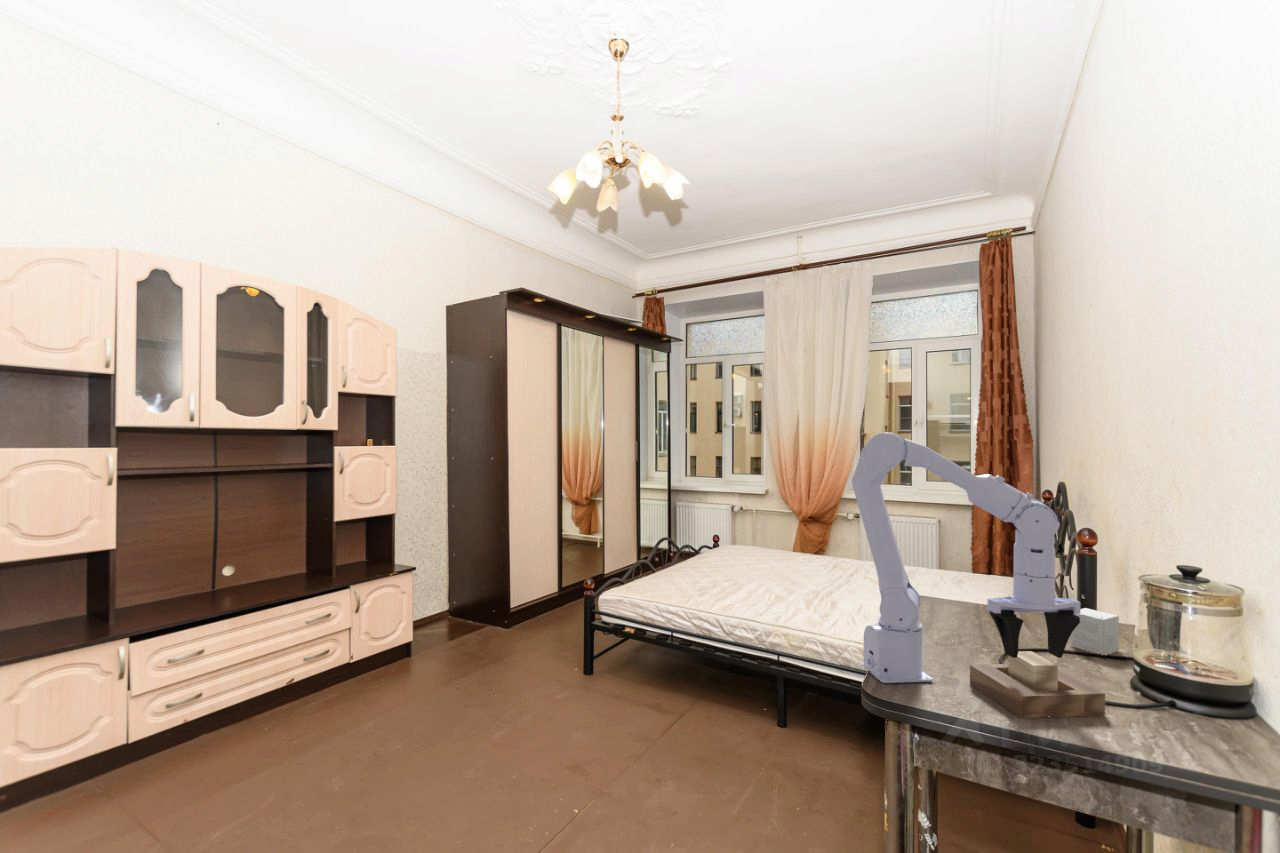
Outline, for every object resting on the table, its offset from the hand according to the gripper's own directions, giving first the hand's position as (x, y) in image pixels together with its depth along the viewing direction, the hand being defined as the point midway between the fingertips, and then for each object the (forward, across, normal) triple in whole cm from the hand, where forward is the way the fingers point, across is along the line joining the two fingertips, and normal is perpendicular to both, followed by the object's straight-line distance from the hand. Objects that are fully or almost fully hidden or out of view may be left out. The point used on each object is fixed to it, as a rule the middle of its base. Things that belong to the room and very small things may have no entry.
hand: (1033, 655), depth 95 cm
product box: (+7, -29, -21) cm, 37 cm away
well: (+7, 0, 0) cm, 7 cm away
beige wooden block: (+7, 0, 0) cm, 7 cm away
